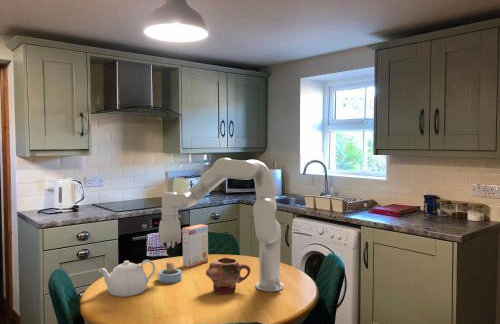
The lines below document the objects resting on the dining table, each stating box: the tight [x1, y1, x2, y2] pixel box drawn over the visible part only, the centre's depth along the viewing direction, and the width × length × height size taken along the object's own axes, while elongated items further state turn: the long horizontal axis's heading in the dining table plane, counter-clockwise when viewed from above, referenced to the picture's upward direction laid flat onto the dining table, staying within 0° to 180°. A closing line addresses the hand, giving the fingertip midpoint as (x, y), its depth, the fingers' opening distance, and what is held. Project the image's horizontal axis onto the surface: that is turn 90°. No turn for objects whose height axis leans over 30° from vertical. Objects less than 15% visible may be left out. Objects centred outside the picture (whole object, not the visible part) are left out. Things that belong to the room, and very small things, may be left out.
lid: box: [166, 262, 175, 274], centre depth 204 cm, size 6×6×7 cm
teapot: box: [98, 259, 156, 298], centre depth 189 cm, size 19×18×14 cm
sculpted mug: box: [205, 257, 251, 295], centre depth 189 cm, size 20×12×14 cm, turn 103°
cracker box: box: [181, 223, 209, 268], centre depth 231 cm, size 14×6×21 cm, turn 141°
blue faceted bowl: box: [157, 268, 183, 285], centre depth 204 cm, size 11×11×4 cm
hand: (169, 255), depth 204 cm, fingers closed
